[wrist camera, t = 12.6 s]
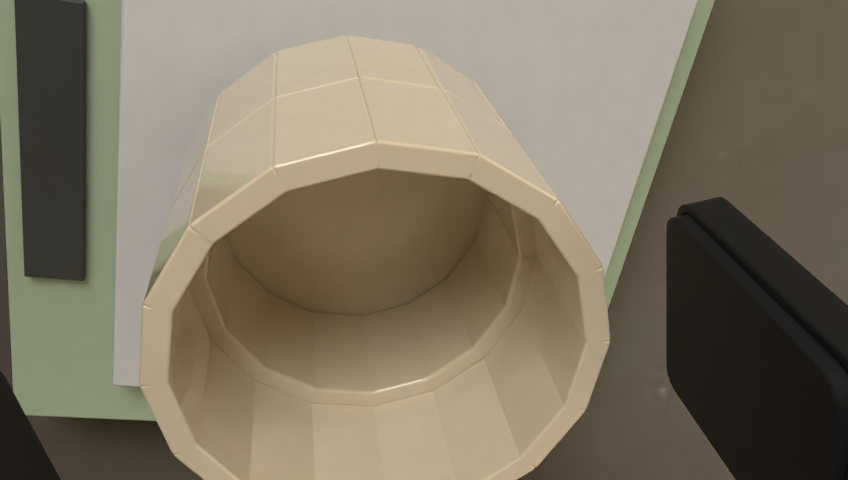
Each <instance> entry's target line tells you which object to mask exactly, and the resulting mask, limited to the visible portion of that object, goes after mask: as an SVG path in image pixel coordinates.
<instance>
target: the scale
mask: <svg viewBox="0 0 848 480" xmlns="http://www.w3.org/2000/svg"><path fill="white" fill-rule="evenodd" d="M714 1H715V0H0V120H1V142H2V163H3V184H4V206H5V227H6V249H7V270H8V291H9V313H10V334H11V356H12V377H13V393H14V394H15V396H16V398H17V400H18V402H19V404H20V405H21V407H22V409H23V411H24V413H25V415H30V416H53V417H75V418H97V419H120V420H142V421H156V419H155V417H154V415H153V413H152V411H151V409H150V407H149V405H148V403H147V401H146V399H145V397H144V394H143V392H142V390H141V388H140V383H139V371H140V346H141V321H142V306H143V302H144V299H145V295H146V292H147V288H148V285H149V281H150V278H151V274H152V271H153V267H154V264H155V260H156V257H157V253H158V250H159V246H160V243H161V239H162V236H163V232H164V229H165V225H166V222H167V219H168V215H169V213H170V209H171V205H172V202H173V198H174V195H175V191H176V188H177V184H178V181H179V177H180V174H181V170H182V167H183V163H184V160H185V156H186V153H187V150H188V148H189V146H190V144H191V143H192V141H193V139H194V137H195V135H196V134H197V132H198V130H199V128H200V126H201V125H202V123H203V121H204V119H205V117H206V116H207V114H208V112H209V110H210V109H211V107H212V105H213V103H214V101H215V100H216V98H217V97H218V96H219V95H220V93H221V92H222V91H223V90H225V89H226V88H227V87H229V86H230V85H232V84H233V83H234V82H236V81H237V80H238V79H240V78H241V77H242V76H244V75H245V74H246V73H248V72H249V71H250V70H252V69H253V68H254V67H256V66H257V65H258V64H260V63H261V62H262V61H264V60H265V59H267V58H268V57H269V56H271V55H272V54H273V53H276V54H277V52H278V51H281V50H285V49H289V48H293V47H297V46H301V45H306V44H310V43H314V42H318V41H322V40H326V39H330V38H334V37H339V36H343V35H346V36H347V37H348V36H358V37H364V38H371V39H377V40H383V41H390V42H396V43H403V44H409V45H414V46H416V47H417V48H422V49H424V50H426V51H427V52H429V53H430V54H432V55H434V56H435V57H437V58H438V59H440V60H442V61H443V62H445V63H446V64H448V65H450V66H451V67H453V68H454V69H456V70H458V71H459V72H461V73H462V74H464V75H466V76H467V77H469V78H470V79H472V80H473V81H474V83H477V84H478V86H479V87H480V89H481V90H482V91H483V93H484V94H485V96H486V97H487V98H488V100H489V101H490V103H491V104H492V105H493V107H494V108H495V110H496V111H497V112H498V114H499V115H500V117H501V118H502V120H503V121H504V122H505V124H506V125H507V127H508V128H509V129H510V131H511V132H512V134H513V135H514V136H515V138H516V139H517V141H518V142H519V143H520V145H521V146H522V148H523V149H524V151H525V152H526V153H527V155H528V156H529V158H530V159H531V160H532V162H533V163H534V165H535V166H536V167H537V169H538V170H539V172H540V173H541V174H542V176H543V177H544V179H545V180H546V182H547V183H548V184H549V186H550V187H551V189H552V190H553V191H554V193H555V194H556V196H557V197H558V198H559V200H560V201H561V203H562V204H563V206H564V207H565V209H566V210H567V212H568V213H569V215H570V216H571V218H572V219H573V221H574V222H575V224H576V225H577V227H578V228H579V230H580V231H581V233H582V234H583V236H584V238H585V239H586V241H587V242H588V244H589V245H590V247H591V248H592V250H593V251H594V253H595V254H596V256H597V257H598V259H599V260H600V262H601V263H602V267H603V270H604V280H605V289H606V299H607V309H608V307H609V304H610V302H611V299H612V296H613V293H614V290H615V287H616V284H617V281H618V278H619V276H620V273H621V270H622V267H623V264H624V261H625V258H626V255H627V252H628V250H629V247H630V244H631V241H632V238H633V235H634V232H635V229H636V226H637V224H638V221H639V218H640V215H641V212H642V209H643V206H644V203H645V200H646V198H647V195H648V192H649V189H650V186H651V183H652V180H653V177H654V174H655V172H656V169H657V166H658V163H659V160H660V157H661V154H662V151H663V148H664V146H665V143H666V140H667V137H668V134H669V131H670V128H671V125H672V122H673V120H674V117H675V114H676V111H677V108H678V105H679V102H680V99H681V96H682V94H683V91H684V88H685V85H686V82H687V79H688V76H689V73H690V70H691V68H692V65H693V62H694V59H695V56H696V53H697V50H698V47H699V44H700V42H701V39H702V36H703V33H704V30H705V27H706V24H707V21H708V18H709V16H710V13H711V10H712V7H713V4H714ZM563 437H564V436H563ZM562 439H563V438H562Z"/></svg>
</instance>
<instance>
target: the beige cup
mask: <svg viewBox="0 0 848 480" xmlns="http://www.w3.org/2000/svg"><path fill="white" fill-rule="evenodd" d="M609 344H610V328H609V318H608V309H607V299H606V289H605V280H604V270H603V267H602V263H601V262H600V260H599V259H598V257H597V256H596V254H595V253H594V251H593V250H592V248H591V247H590V245H589V244H588V242H587V241H586V239H585V238H584V236H583V234H582V233H581V231H580V230H579V228H578V227H577V225H576V224H575V222H574V221H573V219H572V218H571V216H570V215H569V213H568V212H567V210H566V209H565V207H564V206H563V204H562V203H561V201H560V200H559V198H558V197H557V196H556V194H555V193H554V191H553V190H552V189H551V187H550V186H549V184H548V183H547V182H546V180H545V179H544V177H543V176H542V174H541V173H540V172H539V170H538V169H537V167H536V166H535V165H534V163H533V162H532V160H531V159H530V158H529V156H528V155H527V153H526V152H525V151H524V149H523V148H522V146H521V145H520V143H519V142H518V141H517V139H516V138H515V136H514V135H513V134H512V132H511V131H510V129H509V128H508V127H507V125H506V124H505V122H504V121H503V120H502V118H501V117H500V115H499V114H498V112H497V111H496V110H495V108H494V107H493V105H492V104H491V103H490V101H489V100H488V98H487V97H486V96H485V94H484V93H483V91H482V90H481V89H480V87H479V86H478V84H477V83H474V81H473V80H472V79H470V78H469V77H467V76H466V75H464V74H462V73H461V72H459V71H458V70H456V69H454V68H453V67H451V66H450V65H448V64H446V63H445V62H443V61H442V60H440V59H438V58H437V57H435V56H434V55H432V54H430V53H429V52H427V51H426V50H424V49H422V48H417V47H416V46H414V45H409V44H403V43H396V42H390V41H383V40H377V39H371V38H364V37H358V36H348V37H347V36H346V35H343V36H339V37H334V38H330V39H326V40H322V41H318V42H314V43H310V44H306V45H301V46H297V47H293V48H289V49H285V50H281V51H278V52H277V54H276V53H273V54H272V55H271V56H269V57H268V58H267V59H265V60H264V61H262V62H261V63H260V64H258V65H257V66H256V67H254V68H253V69H252V70H250V71H249V72H248V73H246V74H245V75H244V76H242V77H241V78H240V79H238V80H237V81H236V82H234V83H233V84H232V85H230V86H229V87H227V88H226V89H225V90H223V91H222V92H221V93H220V95H219V96H218V97H217V98H216V100H215V101H214V103H213V105H212V107H211V109H210V110H209V112H208V114H207V116H206V117H205V119H204V121H203V123H202V125H201V126H200V128H199V130H198V132H197V134H196V135H195V137H194V139H193V141H192V143H191V144H190V146H189V148H188V150H187V153H186V156H185V160H184V163H183V167H182V170H181V174H180V177H179V181H178V184H177V188H176V191H175V195H174V198H173V202H172V205H171V209H170V213H169V215H168V219H167V222H166V225H165V229H164V232H163V236H162V239H161V243H160V246H159V250H158V253H157V257H156V260H155V264H154V267H153V271H152V274H151V278H150V281H149V285H148V288H147V292H146V295H145V299H144V302H143V306H142V321H141V346H140V371H139V383H140V388H141V390H142V392H143V394H144V397H145V399H146V401H147V403H148V405H149V407H150V409H151V411H152V413H153V415H154V417H155V419H156V421H157V423H158V425H159V427H160V429H161V431H162V433H163V435H164V437H165V439H166V441H167V443H168V446H169V448H170V450H171V452H172V453H173V454H174V455H175V457H176V458H177V459H178V460H180V461H181V462H182V463H183V464H185V465H186V466H187V467H188V468H190V469H191V470H192V471H193V472H195V473H196V474H197V475H198V476H200V477H201V478H202V479H203V480H517V479H519V478H521V477H522V476H524V475H526V474H527V473H529V472H531V471H532V470H534V469H535V467H537V466H538V465H539V464H540V463H541V462H542V461H543V460H544V458H545V457H546V456H547V455H548V454H549V453H550V451H551V450H552V449H553V448H554V447H555V446H556V445H557V443H558V442H559V441H560V440H561V439H562V438H563V436H564V435H565V434H566V433H567V432H568V431H569V430H570V428H571V427H572V426H573V425H574V424H575V423H576V421H577V420H578V419H579V418H580V417H581V416H582V415H583V413H584V412H585V410H586V409H587V406H588V403H589V400H590V398H591V395H592V392H593V389H594V386H595V384H596V381H597V378H598V375H599V372H600V369H601V367H602V364H603V361H604V358H605V355H606V353H607V350H608V347H609Z"/></svg>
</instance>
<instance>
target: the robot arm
mask: <svg viewBox="0 0 848 480" xmlns="http://www.w3.org/2000/svg"><path fill="white" fill-rule="evenodd" d="M667 371H668V376H669V379H670V382H671V384H672V387H673V388H674V390H675V392H676V393H677V395H678V396H679V398H680V399H681V401H682V402H683V403H684V405H685V406H686V408H687V409H688V411H689V412H690V414H691V415H692V417H693V418H694V419H695V421H696V422H697V424H698V425H699V427H700V428H701V430H702V431H703V433H704V434H705V435H706V437H707V438H708V440H709V441H710V443H711V444H712V446H713V447H714V449H715V450H716V451H717V453H718V454H719V456H720V457H721V459H722V460H723V462H724V463H725V465H726V466H727V467H728V469H729V470H730V472H731V473H732V475H733V476H734V478H735V479H736V480H848V305H846V304H845V303H844V302H843V301H842V300H841V299H840V298H838V297H837V296H836V295H835V294H834V293H833V292H832V291H830V290H829V289H828V288H827V287H826V286H825V285H823V284H822V283H821V282H820V281H819V280H818V279H817V278H815V277H814V276H813V275H812V274H811V273H810V272H809V271H807V270H806V269H805V268H804V267H803V266H802V265H801V264H799V263H798V262H797V261H796V260H795V259H794V258H793V257H791V256H790V255H789V254H788V253H787V252H786V251H785V250H783V249H782V248H781V247H780V246H779V245H778V244H777V243H775V242H774V241H773V240H772V239H771V238H770V237H768V236H767V235H766V234H765V233H764V232H763V231H762V230H760V229H759V228H758V227H757V226H756V225H755V224H754V223H752V222H751V221H750V220H749V219H748V218H747V217H746V216H744V215H743V214H742V213H741V212H740V211H739V210H738V209H736V208H735V207H734V206H733V205H732V204H731V203H730V202H728V201H727V200H726V199H724V198H722V197H717V198H712V199H708V200H703V201H699V202H694V203H690V204H685V205H682V206H681V207H680V208H679V210H678V213H677V217H673V218H670V219H669V220H668V223H667ZM0 480H60V478H59V476H58V474H57V472H56V470H55V468H54V467H53V465H52V463H51V461H50V459H49V457H48V455H47V454H46V452H45V450H44V448H43V446H42V444H41V443H40V441H39V439H38V437H37V435H36V433H35V431H34V430H33V428H32V426H31V424H30V422H29V420H28V418H27V417H26V415H25V413H24V411H23V409H22V407H21V405H20V404H19V402H18V400H17V398H16V396H15V394H14V393H13V391H12V389H11V387H10V385H9V383H8V381H7V380H6V378H5V376H4V375H3V373H2V372H0Z"/></svg>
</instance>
